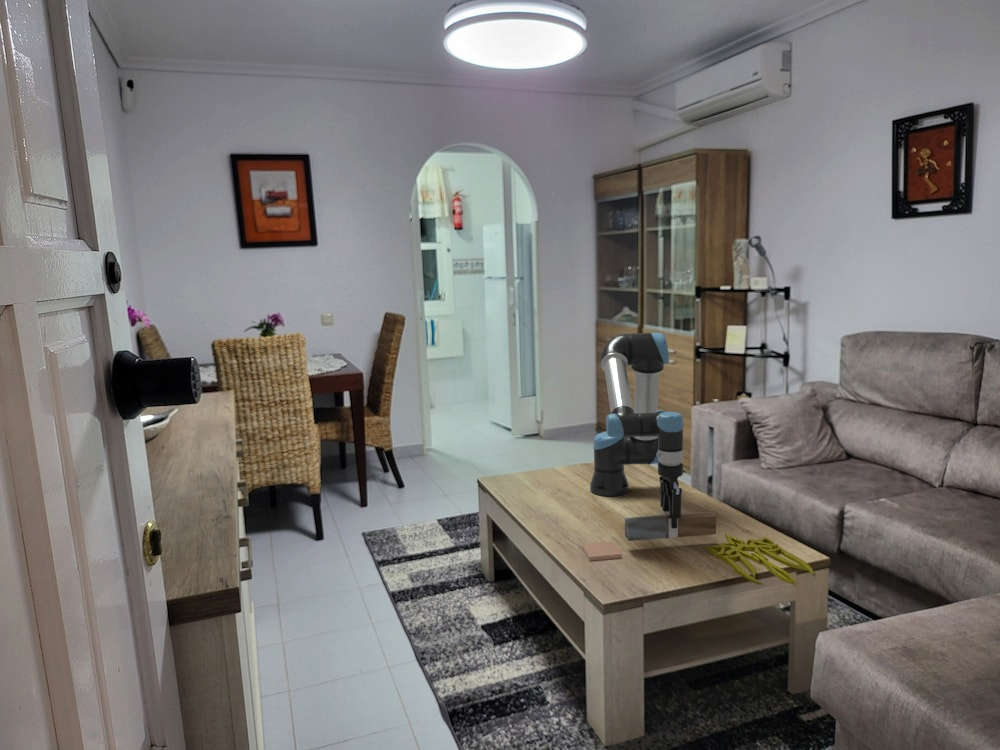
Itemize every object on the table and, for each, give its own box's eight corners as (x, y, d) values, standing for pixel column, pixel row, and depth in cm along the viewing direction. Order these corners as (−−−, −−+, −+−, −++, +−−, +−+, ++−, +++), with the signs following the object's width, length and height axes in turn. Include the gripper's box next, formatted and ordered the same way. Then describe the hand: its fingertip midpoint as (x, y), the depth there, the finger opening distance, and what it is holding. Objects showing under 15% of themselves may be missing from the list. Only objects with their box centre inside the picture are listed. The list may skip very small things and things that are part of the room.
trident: (755, 529, 221) (830, 575, 187) (755, 533, 221) (830, 581, 187) (693, 537, 216) (760, 587, 182) (693, 542, 216) (759, 593, 182)
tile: (612, 546, 216) (581, 548, 215) (612, 541, 216) (581, 543, 215) (621, 559, 206) (589, 562, 205) (621, 554, 206) (589, 556, 205)
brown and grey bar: (625, 536, 213) (624, 517, 212) (710, 529, 215) (710, 511, 215) (628, 541, 209) (628, 522, 208) (715, 534, 212) (716, 516, 211)
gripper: (649, 455, 217) (650, 524, 220) (668, 471, 200) (668, 546, 204) (672, 454, 217) (672, 523, 221) (692, 469, 200) (692, 544, 204)
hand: (670, 534), depth 212 cm, fingers closed on brown and grey bar, 4 cm apart
